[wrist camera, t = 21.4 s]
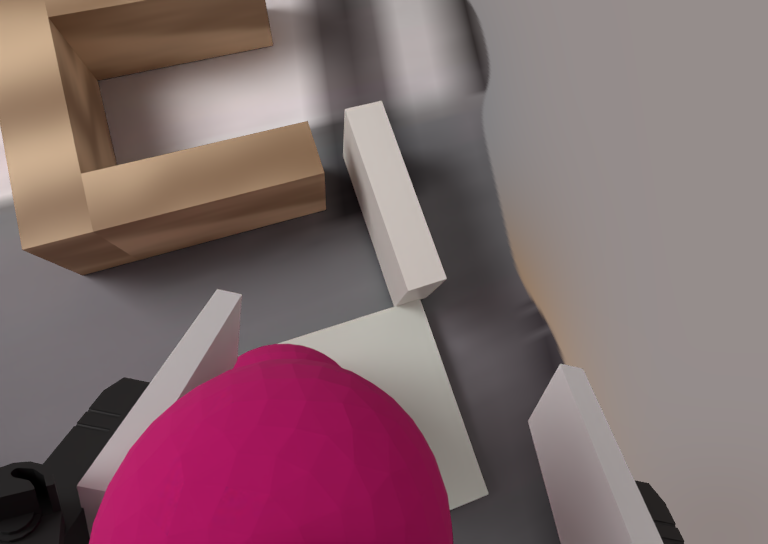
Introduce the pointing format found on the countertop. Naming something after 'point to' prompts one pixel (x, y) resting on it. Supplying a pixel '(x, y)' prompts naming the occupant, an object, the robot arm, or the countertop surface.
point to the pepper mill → (278, 463)
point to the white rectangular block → (390, 205)
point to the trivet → (408, 384)
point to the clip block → (93, 142)
